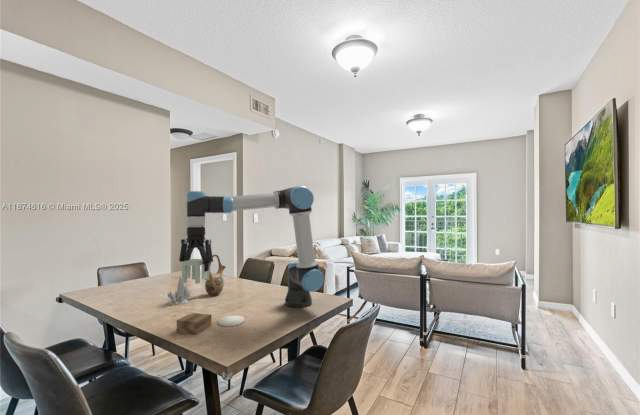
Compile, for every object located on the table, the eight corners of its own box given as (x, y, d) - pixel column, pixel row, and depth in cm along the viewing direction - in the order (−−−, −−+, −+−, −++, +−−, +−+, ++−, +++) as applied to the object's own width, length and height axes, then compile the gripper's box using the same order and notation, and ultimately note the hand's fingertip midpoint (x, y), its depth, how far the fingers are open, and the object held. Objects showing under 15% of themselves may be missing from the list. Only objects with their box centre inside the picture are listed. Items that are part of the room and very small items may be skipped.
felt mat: (249, 318, 147) (249, 316, 147) (236, 327, 135) (236, 325, 135) (227, 316, 150) (227, 314, 150) (212, 325, 138) (212, 323, 138)
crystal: (161, 305, 168) (162, 278, 168) (179, 299, 180) (179, 273, 180) (176, 307, 165) (176, 279, 165) (193, 300, 177) (193, 274, 178)
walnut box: (211, 325, 137) (211, 314, 137) (197, 334, 128) (197, 322, 128) (192, 323, 140) (192, 312, 140) (176, 332, 130) (176, 320, 130)
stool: (209, 279, 137) (209, 259, 137) (197, 283, 130) (198, 262, 130) (193, 278, 139) (194, 258, 139) (181, 282, 132) (181, 261, 132)
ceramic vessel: (208, 299, 180) (208, 256, 180) (198, 296, 185) (198, 255, 185) (229, 293, 194) (230, 253, 194) (220, 291, 199) (220, 252, 199)
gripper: (221, 226, 136) (221, 277, 135) (181, 225, 141) (181, 275, 141) (211, 227, 129) (211, 281, 128) (169, 226, 134) (169, 278, 133)
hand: (196, 278), depth 134 cm, fingers closed on stool, 8 cm apart
